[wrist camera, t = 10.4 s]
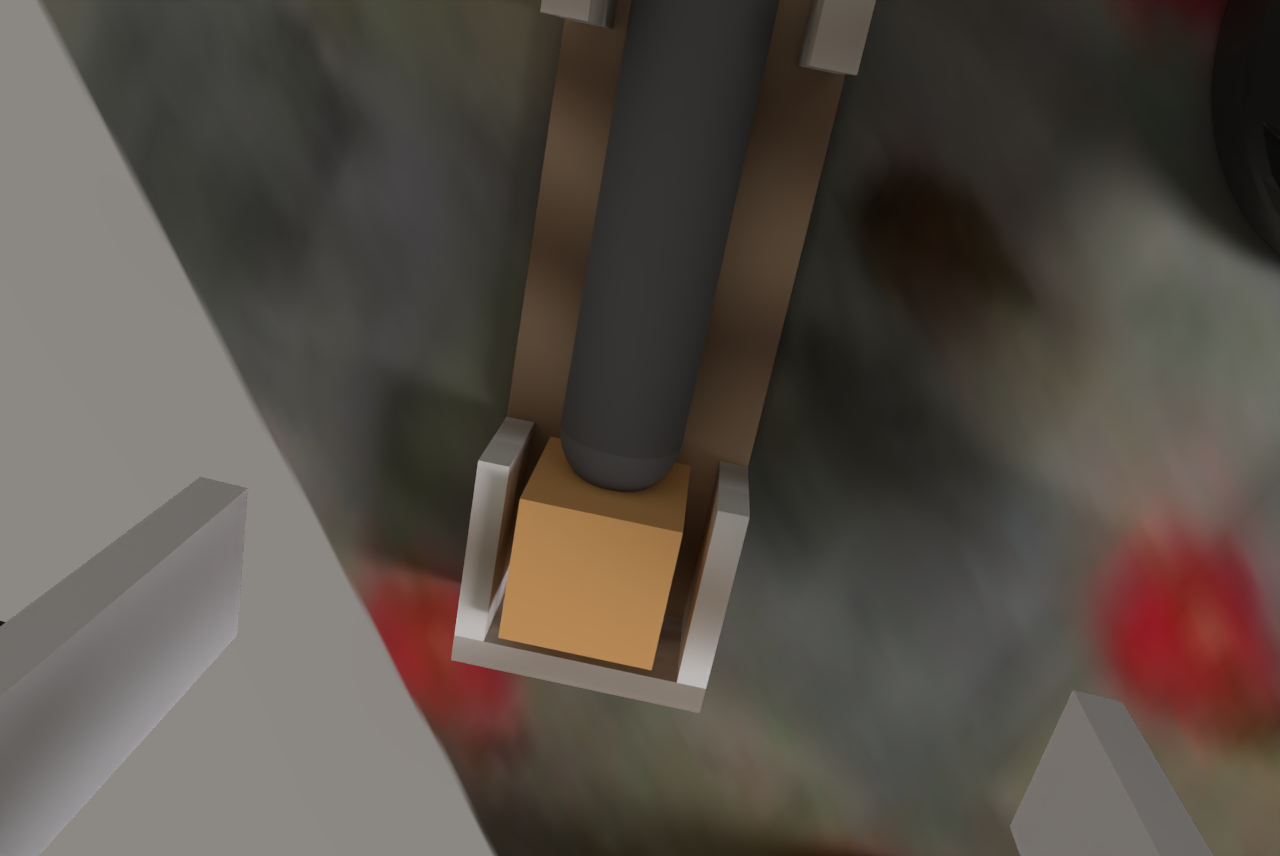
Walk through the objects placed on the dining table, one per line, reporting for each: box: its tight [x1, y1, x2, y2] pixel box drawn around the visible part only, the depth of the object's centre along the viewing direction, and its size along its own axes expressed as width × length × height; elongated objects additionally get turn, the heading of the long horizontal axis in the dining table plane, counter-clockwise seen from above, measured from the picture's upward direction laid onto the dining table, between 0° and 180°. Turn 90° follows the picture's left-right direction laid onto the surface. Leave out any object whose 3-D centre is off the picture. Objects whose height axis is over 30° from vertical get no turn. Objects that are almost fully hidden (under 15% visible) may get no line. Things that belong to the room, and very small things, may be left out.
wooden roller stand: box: [451, 0, 876, 713], centre depth 29 cm, size 26×9×6 cm, turn 169°
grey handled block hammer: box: [498, 0, 779, 670], centre depth 29 cm, size 22×5×5 cm, turn 170°
